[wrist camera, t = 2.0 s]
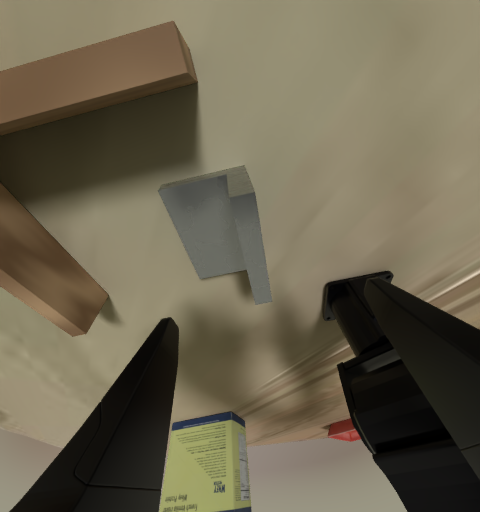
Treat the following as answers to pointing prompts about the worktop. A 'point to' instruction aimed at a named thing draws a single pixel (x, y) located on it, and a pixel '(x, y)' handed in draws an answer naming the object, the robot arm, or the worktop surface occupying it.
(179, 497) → the protein box
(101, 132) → the worktop surface
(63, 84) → the wooden corner frame
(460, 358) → the robot arm
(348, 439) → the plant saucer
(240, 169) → the bracket
